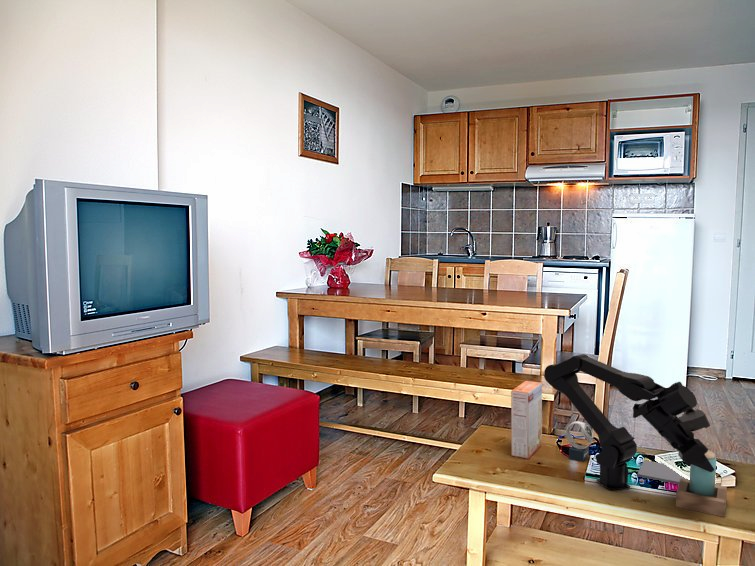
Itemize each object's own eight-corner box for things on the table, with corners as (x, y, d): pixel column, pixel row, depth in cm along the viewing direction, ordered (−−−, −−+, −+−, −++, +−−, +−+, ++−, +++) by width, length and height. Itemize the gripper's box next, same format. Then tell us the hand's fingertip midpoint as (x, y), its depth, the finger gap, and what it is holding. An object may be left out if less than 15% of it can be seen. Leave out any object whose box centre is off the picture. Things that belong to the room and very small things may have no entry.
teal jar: (700, 497, 147) (702, 457, 146) (684, 487, 152) (686, 449, 152) (719, 495, 148) (721, 456, 147) (702, 485, 154) (704, 448, 153)
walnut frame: (675, 506, 149) (676, 492, 149) (680, 490, 158) (680, 478, 158) (724, 516, 143) (725, 502, 143) (726, 500, 152) (726, 486, 152)
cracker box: (524, 442, 195) (524, 379, 193) (542, 445, 192) (543, 382, 190) (509, 456, 183) (510, 389, 182) (528, 459, 180) (529, 392, 178)
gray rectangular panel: (721, 477, 166) (721, 474, 166) (719, 493, 156) (719, 489, 156) (644, 463, 177) (644, 460, 177) (637, 477, 167) (637, 473, 167)
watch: (589, 463, 177) (590, 427, 176) (562, 457, 182) (563, 422, 181) (595, 457, 182) (596, 422, 181) (568, 452, 186) (569, 417, 185)
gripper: (700, 410, 140) (749, 459, 139) (678, 390, 158) (721, 433, 157) (663, 441, 142) (711, 489, 141) (645, 417, 161) (688, 460, 159)
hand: (708, 466), depth 150 cm, fingers closed on teal jar, 6 cm apart
